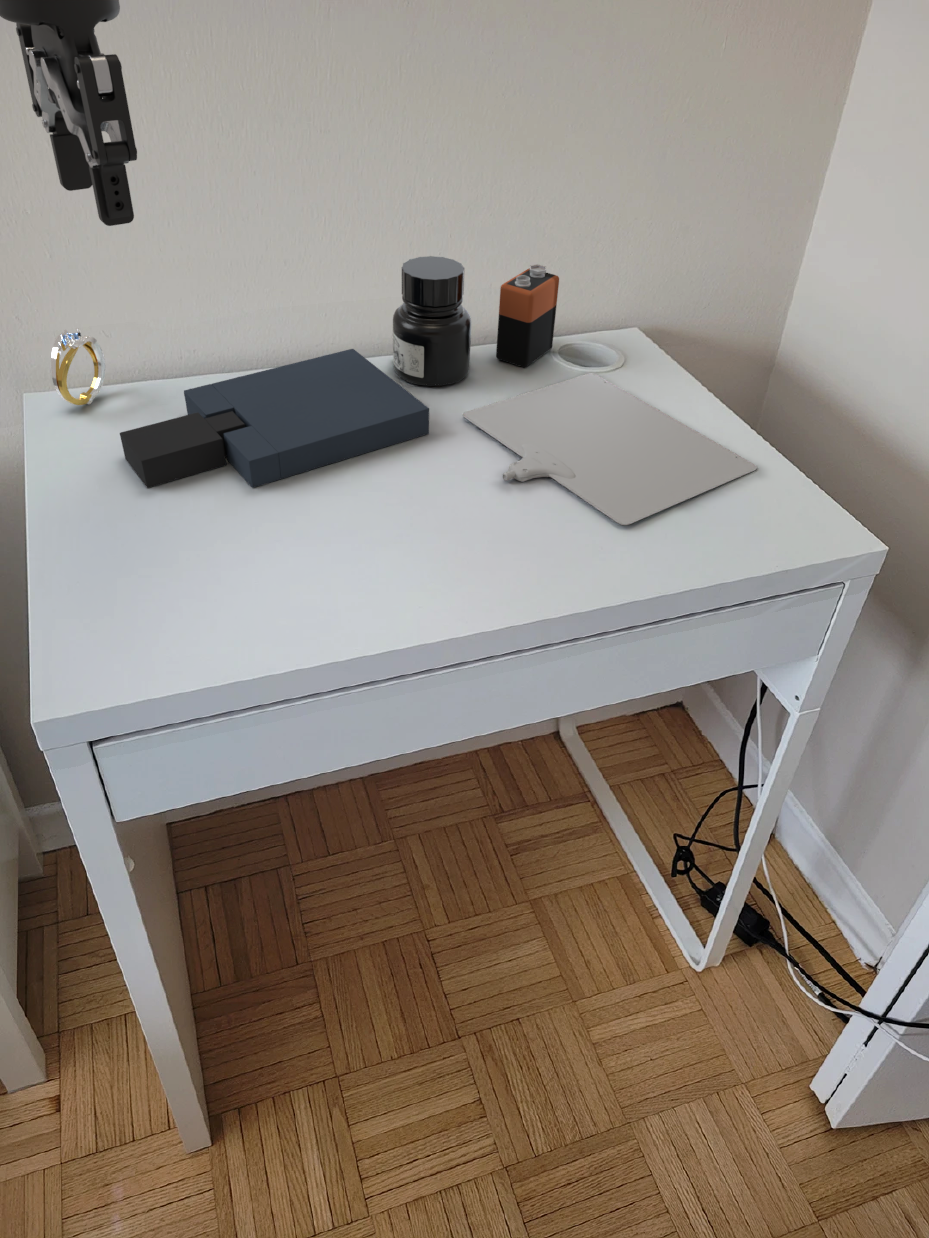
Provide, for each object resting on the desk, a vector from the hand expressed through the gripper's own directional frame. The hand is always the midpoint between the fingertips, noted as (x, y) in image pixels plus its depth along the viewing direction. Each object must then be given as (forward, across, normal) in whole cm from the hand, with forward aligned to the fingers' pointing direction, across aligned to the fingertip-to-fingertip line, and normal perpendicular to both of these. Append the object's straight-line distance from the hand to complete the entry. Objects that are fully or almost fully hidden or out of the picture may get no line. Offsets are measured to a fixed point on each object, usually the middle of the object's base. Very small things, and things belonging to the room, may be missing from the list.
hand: (97, 205), depth 68 cm
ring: (+28, -25, +2) cm, 37 cm away
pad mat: (+27, -9, +20) cm, 35 cm away
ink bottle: (+27, -12, +38) cm, 48 cm away
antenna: (+27, +10, +42) cm, 51 cm away
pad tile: (+27, -9, +6) cm, 29 cm away
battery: (+27, -10, +50) cm, 57 cm away
